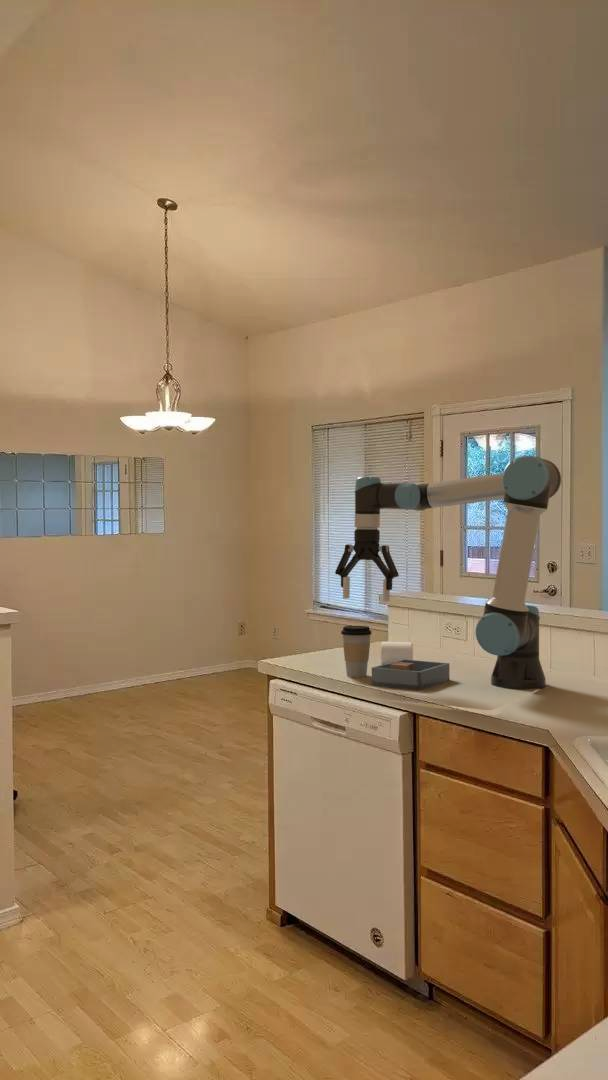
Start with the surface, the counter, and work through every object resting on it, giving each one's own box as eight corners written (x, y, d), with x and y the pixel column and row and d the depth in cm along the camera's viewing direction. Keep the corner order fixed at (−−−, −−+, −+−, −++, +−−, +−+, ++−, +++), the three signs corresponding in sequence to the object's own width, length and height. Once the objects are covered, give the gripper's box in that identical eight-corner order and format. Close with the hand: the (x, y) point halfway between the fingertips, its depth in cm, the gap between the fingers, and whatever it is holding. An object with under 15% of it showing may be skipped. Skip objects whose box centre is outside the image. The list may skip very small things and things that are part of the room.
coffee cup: (370, 679, 254) (370, 628, 254) (339, 678, 255) (339, 628, 255) (373, 674, 263) (372, 625, 263) (342, 673, 265) (342, 625, 265)
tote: (449, 680, 252) (449, 663, 252) (419, 690, 235) (419, 672, 235) (403, 675, 260) (403, 659, 260) (371, 685, 244) (371, 667, 244)
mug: (411, 668, 274) (411, 643, 274) (380, 667, 276) (380, 643, 276) (414, 663, 286) (414, 639, 286) (384, 662, 288) (384, 638, 288)
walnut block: (406, 683, 240) (406, 665, 240) (390, 681, 242) (390, 664, 242) (414, 680, 244) (414, 663, 244) (398, 679, 246) (398, 662, 246)
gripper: (410, 529, 251) (409, 601, 251) (337, 528, 264) (336, 596, 265) (399, 529, 245) (397, 603, 245) (324, 528, 258) (323, 598, 258)
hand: (365, 599), depth 255 cm, fingers open, 13 cm apart
